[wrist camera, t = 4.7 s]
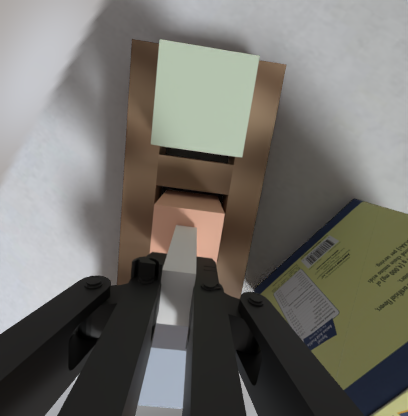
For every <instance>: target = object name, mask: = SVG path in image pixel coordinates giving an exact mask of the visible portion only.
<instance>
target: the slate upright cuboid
mask: <svg viewBox="0 0 408 416" xmlns="http://www.w3.org/2000/svg"><path fill="white" fill-rule="evenodd" d="M187 334H188V326H178V325H169V324H159V323H157V320H156V328H155V334H154V338H153V342H152V347H151V351H150V355H149V359H148V363H147V368H146V372H145V376H144V380H143V384H142V389H141V393H140V397H139V401H138V405H141V406H153V407H165V408H177V409H183V395H184V380H185V364H186V349H185V348H186V341H187Z"/></svg>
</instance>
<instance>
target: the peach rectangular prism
mask: <svg viewBox="0 0 408 416" xmlns="http://www.w3.org/2000/svg"><path fill="white" fill-rule="evenodd" d="M224 216H225V213H224V211H223V208H222V206H221V204H220V201H219V199H218V196H214V195H206V194H199V193H191V192H184V191H177V190H169V189H167V190H166V191H165V193H164V194H163V195H162V196H161V197H160V198H159V200H158V201H157V202H156V203H155V204H154V212H153V223H152V234H151V244H150V253H151V252H158V253H166V254H167V253H168V250H169V247H170V243H171V240H172V237H173V234H174V230H175V227H176V225H181V226H188V227H196V228H197V257H205V258H212V259H213V260H214V261H215V262H216V264H217V258H218V252H219V246H220V240H221V234H222V228H223V222H224Z"/></svg>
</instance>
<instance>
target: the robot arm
mask: <svg viewBox="0 0 408 416" xmlns="http://www.w3.org/2000/svg"><path fill="white" fill-rule="evenodd" d="M156 320H157V323H159V324H169V325H178V326H188V334H187V341H186V348H185V349H186V364H185V380H184V395H183V411H182V416H246V411H245V405H244V400H243V394H242V388H241V383H240V377H239V373H240V375H241V378H242V380H243V382H244V385H245V387H246V389H247V391H248V394H249V396H250V398H251V400H252V403H253V405H254V407H255V410H256V412H257V414H258V416H364V414H363V413H362V412H361V411H360V409H359V408H358V407H357V406H356V405H355V403H354V402H353V401H352V400H351V399H350V397H349V396H348V395H347V394H346V393H345V391H344V390H343V389H342V388H341V387H340V385H339V384H338V383H337V382H336V381H335V379H334V378H333V377H332V376H331V374H330V373H329V372H328V371H327V370H326V368H325V367H324V366H323V365H322V364H321V362H320V361H319V360H318V359H317V358H316V356H315V355H314V354H313V353H312V352H311V350H310V349H309V348H308V347H307V346H306V344H305V343H304V342H303V341H302V339H301V338H300V337H299V336H298V335H297V333H296V332H295V331H294V330H293V329H292V327H291V326H290V325H289V324H288V323H287V321H286V320H285V319H284V318H283V317H282V315H281V314H280V313H279V312H278V311H277V309H276V308H275V307H274V306H273V305H272V303H271V302H270V301H269V300H268V299H267V298H266V297H264V296H263V295H261V294H259V293H255V292H245V293H243V294H242V295H241V297H240V299H238V298H235V297H232V296H230V295H228V294H226V293H225V292H224V289H223V287H222V285H221V284H220V283H219V279H218V273H217V267H216V262H215V261H214V260H213V259H212V258H205V257H197V228H196V227H188V226H181V225H176V227H175V230H174V234H173V237H172V240H171V243H170V247H169V250H168V253H167V254H166V253H158V252H151V253H150V254H148V255H147V256H144V257H138V258H136V259H134V260H133V261H132V268H131V279H130V281H129V282H128V283H127V284H123V285H113V286H111V281H110V280H109V279H108V278H106V277H103V276H90V277H86V278H83V279H81V280H80V281H78V282H77V283H75V284H74V285H72V286H71V287H69V288H68V289H66V290H65V291H63V292H62V293H60V294H59V295H57V296H56V297H55V298H53V299H52V300H50V301H49V302H47V303H46V304H44V305H43V306H41V307H40V308H38V309H37V310H35V311H34V312H32V313H31V314H30V315H28V316H27V317H25V318H24V319H22V320H21V321H19V322H18V323H16V324H15V325H13V326H12V327H10V328H9V329H7V330H6V331H4V332H3V333H2V334H0V416H45V414H46V413H47V412H48V411H49V410H50V409H51V407H52V406H53V405H54V404H55V403H56V401H57V400H58V399H59V398H60V396H61V395H62V394H63V393H64V392H65V390H66V389H67V388H68V387H69V386H70V384H71V383H72V382H73V381H74V380H75V378H76V377H77V376H78V375H79V376H78V378H77V380H76V382H75V384H74V385H73V387H72V389H71V391H70V393H69V395H68V397H67V399H66V401H65V402H64V404H63V406H62V408H61V410H60V412H59V414H58V415H57V416H135V414H136V409H137V405H138V401H139V397H140V393H141V389H142V384H143V380H144V376H145V372H146V368H147V363H148V359H149V355H150V351H151V347H152V342H153V338H154V334H155V328H156ZM238 371H239V372H238ZM79 373H80V374H79Z"/></svg>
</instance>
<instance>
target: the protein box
mask: <svg viewBox="0 0 408 416" xmlns="http://www.w3.org/2000/svg"><path fill="white" fill-rule="evenodd" d="M254 292H255V293H259V294H261V295H263V296H264V297H266V298H267V299H268V300H269V301H270V302H271V303H272V305H273V306H274V307H275V308H276V309H277V311H278V312H279V313H280V314H281V315H282V317H283V318H284V319H285V320H286V321H287V323H288V324H289V325H290V326H291V327H292V329H293V330H294V331H295V332H296V333H297V335H298V336H299V337H300V338H301V339H302V341H303V342H304V343H305V344H306V346H307V347H308V348H309V349H310V350H311V352H312V353H313V354H314V355H315V356H316V358H317V359H318V360H319V361H320V362H321V364H322V365H323V366H324V367H325V368H326V370H327V371H328V372H329V373H330V374H331V376H332V377H333V378H334V379H335V381H336V382H337V383H338V384H339V385H340V387H341V388H342V389H343V390H344V391H345V393H346V394H347V395H348V396H349V397H350V399H351V400H352V401H353V402H354V403H355V405H356V406H357V407H358V408H359V409H360V411H361V412H362V413H363V414H364V416H408V214H405V213H402V212H399V211H395V210H392V209H388V208H384V207H381V206H378V205H374V204H371V203H367V202H364V201H361V200H357V199H353V200H352V201H351V202H350V203H349V204H348V205H347V206H346V207H344V208H343V209H342V210H341V211H340V212H339V213H338V214H337V215H336V216H335V217H334V218H332V219H331V220H330V221H329V222H328V223H327V224H326V225H325V226H324V227H323V228H321V229H320V230H319V231H318V232H317V233H316V234H315V235H314V236H313V237H312V238H310V239H309V240H308V241H307V242H306V243H305V244H304V245H303V246H302V247H300V248H299V249H298V250H297V251H296V252H295V253H294V254H293V255H292V256H290V257H289V258H288V259H287V260H286V261H285V262H284V263H283V264H282V265H281V266H280V267H278V268H277V269H276V270H275V271H274V272H273V273H272V274H271V275H270V276H268V277H267V278H266V279H265V280H264V281H263V282H262V283H261V284H260V285H259V286H257V287H256V288H255V290H254Z"/></svg>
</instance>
